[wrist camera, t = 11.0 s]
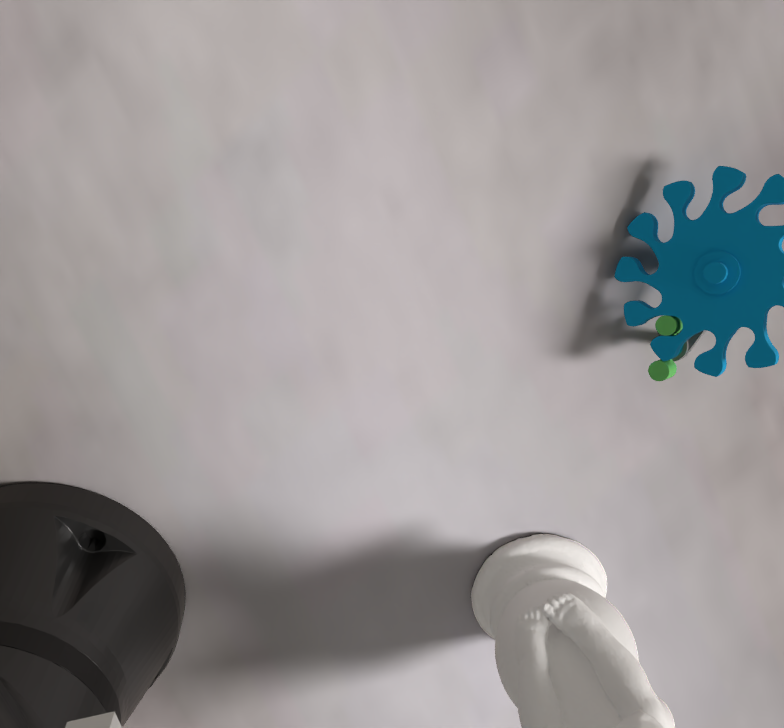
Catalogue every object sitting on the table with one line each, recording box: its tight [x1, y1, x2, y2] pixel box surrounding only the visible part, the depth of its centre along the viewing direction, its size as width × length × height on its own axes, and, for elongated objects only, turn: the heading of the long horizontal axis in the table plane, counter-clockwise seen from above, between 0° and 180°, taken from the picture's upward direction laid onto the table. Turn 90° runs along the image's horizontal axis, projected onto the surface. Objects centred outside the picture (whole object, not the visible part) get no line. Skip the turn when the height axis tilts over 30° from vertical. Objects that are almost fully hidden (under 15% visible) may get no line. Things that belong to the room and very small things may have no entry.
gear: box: [614, 166, 784, 381], centre depth 36 cm, size 11×6×10 cm
